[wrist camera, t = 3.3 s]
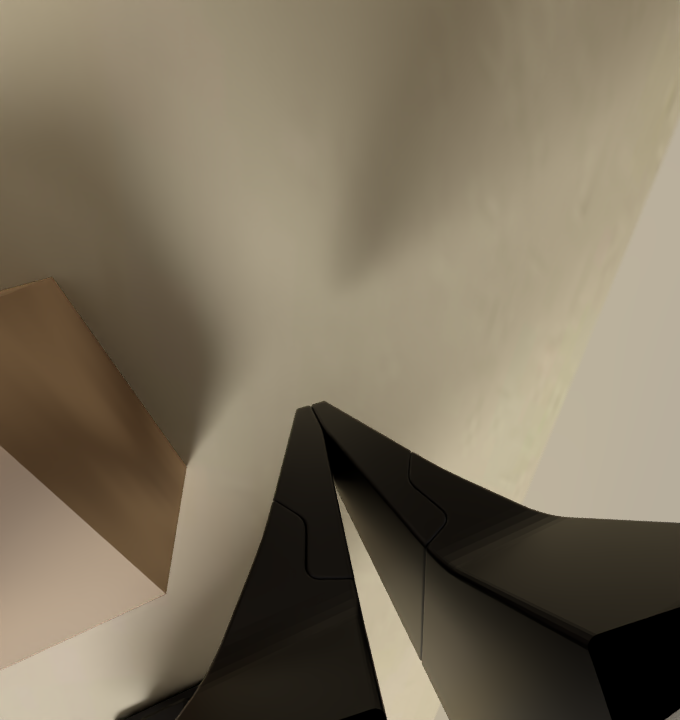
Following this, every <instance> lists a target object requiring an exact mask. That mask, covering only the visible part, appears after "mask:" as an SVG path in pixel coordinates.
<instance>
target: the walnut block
mask: <svg viewBox="0 0 680 720" xmlns="http://www.w3.org/2000/svg"><path fill="white" fill-rule="evenodd" d="M186 468H187V467H186V465H185V464H184V463H183V461H182V460H181V458H180V457H179V456H178V454H177V453H176V451H175V450H174V448H173V447H172V446H171V444H170V443H169V441H168V440H167V439H166V437H165V436H164V434H163V433H162V431H161V430H160V429H159V427H158V426H157V424H156V423H155V422H154V420H153V419H152V417H151V416H150V415H149V413H148V412H147V410H146V409H145V407H144V406H143V405H142V403H141V402H140V400H139V399H138V398H137V396H136V395H135V393H134V392H133V390H132V389H131V388H130V386H129V385H128V383H127V382H126V381H125V379H124V378H123V376H122V375H121V374H120V372H119V371H118V369H117V368H116V366H115V365H114V364H113V362H112V361H111V359H110V358H109V357H108V355H107V354H106V352H105V351H104V350H103V348H102V347H101V345H100V344H99V342H98V341H97V340H96V338H95V337H94V335H93V334H92V333H91V331H90V330H89V328H88V327H87V325H86V324H85V323H84V321H83V320H82V318H81V317H80V316H79V314H78V313H77V311H76V310H75V309H74V307H73V306H72V304H71V303H70V301H69V300H68V299H67V297H66V296H65V294H64V293H63V292H62V290H61V289H60V287H59V286H58V284H57V283H56V282H55V280H54V279H53V277H50V278H46V279H42V280H39V281H35V282H31V283H27V284H24V285H20V286H16V287H13V288H9V289H5V290H1V291H0V670H2V669H5V668H7V667H9V666H11V665H13V664H15V663H18V662H20V661H22V660H24V659H26V658H28V657H31V656H33V655H35V654H37V653H39V652H41V651H44V650H46V649H48V648H50V647H52V646H54V645H57V644H59V643H61V642H63V641H65V640H67V639H70V638H72V637H74V636H76V635H78V634H80V633H83V632H85V631H87V630H89V629H91V628H93V627H96V626H98V625H100V624H102V623H104V622H106V621H109V620H111V619H113V618H115V617H117V616H119V615H122V614H124V613H126V612H128V611H130V610H132V609H135V608H137V607H139V606H141V605H143V604H145V603H148V602H150V601H152V600H154V599H156V598H158V597H161V596H163V595H165V594H166V591H167V584H168V578H169V572H170V566H171V560H172V554H173V548H174V541H175V535H176V529H177V523H178V517H179V511H180V505H181V498H182V492H183V486H184V480H185V474H186Z"/></svg>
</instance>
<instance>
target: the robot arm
mask: <svg viewBox="0 0 680 720" xmlns="http://www.w3.org/2000/svg"><path fill="white" fill-rule="evenodd" d="M334 484H335V485H334ZM335 486H336V488H337V491H338V493H339V495H340V497H341V499H342V501H343V503H344V505H345V507H346V509H347V511H348V513H349V515H350V517H351V519H352V521H353V523H354V525H355V527H356V529H357V532H358V534H359V536H360V538H361V540H362V542H363V544H364V546H365V548H366V550H367V552H368V554H369V556H370V558H371V560H372V562H373V564H374V566H375V568H376V570H377V572H378V575H379V577H380V579H381V581H382V583H383V585H384V587H385V589H386V591H387V593H388V595H389V597H390V599H391V601H392V603H393V605H394V607H395V609H396V611H397V613H398V616H399V618H400V620H401V622H402V624H403V626H404V628H405V630H406V632H407V634H408V636H409V638H410V640H411V642H412V644H413V646H414V648H415V650H416V652H417V654H418V657H419V659H420V660H421V661H422V665H423V667H424V669H425V671H426V673H427V675H428V677H429V679H430V681H431V683H432V685H433V687H434V689H435V692H436V694H437V696H438V698H439V700H440V702H441V704H442V706H443V708H444V710H445V712H446V714H447V716H448V718H449V720H680V523H671V522H652V521H631V520H613V519H593V518H573V517H561V516H555V515H550V514H546V513H542V512H539V511H536V510H533V509H530V508H528V507H525V506H523V505H521V504H518V503H516V502H514V501H512V500H510V499H507V498H505V497H503V496H501V495H499V494H496V493H494V492H492V491H490V490H488V489H485V488H483V487H481V486H479V485H477V484H474V483H472V482H470V481H468V480H466V479H463V478H461V477H459V476H457V475H455V474H453V473H451V472H449V471H447V470H445V469H443V468H441V467H439V466H437V465H435V464H434V463H432V462H430V461H428V460H426V459H424V458H423V457H421V456H419V455H417V454H416V453H414V452H411V451H410V450H409V449H407V448H405V447H403V446H402V445H400V444H398V443H396V442H395V441H393V440H391V439H389V438H388V437H386V436H384V435H383V434H381V433H379V432H377V431H376V430H374V429H372V428H370V427H369V426H367V425H365V424H364V423H362V422H360V421H358V420H357V419H355V418H353V417H351V416H350V415H348V414H346V413H344V412H343V411H341V410H339V409H338V408H336V407H334V406H332V405H331V404H329V403H327V402H325V401H322V402H319V403H316V404H313V405H312V406H305V407H302V408H298V409H297V410H296V413H295V417H294V421H293V425H292V428H291V432H290V436H289V440H288V444H287V448H286V452H285V455H284V459H283V463H282V467H281V471H280V475H279V479H278V482H277V486H276V490H275V494H274V498H273V502H272V505H271V509H270V513H269V516H268V520H267V523H266V527H265V530H264V533H263V537H262V540H261V543H260V545H259V548H258V551H257V553H256V556H255V559H254V562H253V564H252V567H251V569H250V572H249V575H248V577H247V580H246V582H245V585H244V587H243V590H242V592H241V595H240V597H239V600H238V602H237V605H236V607H235V610H234V612H233V615H232V617H231V620H230V622H229V625H228V627H227V630H226V633H225V635H224V637H223V640H222V642H221V645H220V647H219V649H218V652H217V654H216V656H215V658H214V660H213V662H212V664H211V666H210V668H209V670H208V672H207V674H206V675H205V677H204V679H203V681H202V682H201V684H199V685H197V686H195V687H193V688H191V689H189V690H187V691H185V692H182V693H180V694H178V695H176V696H174V697H172V698H170V699H167V700H165V701H163V702H161V703H159V704H157V705H155V706H153V707H150V708H148V709H146V710H144V711H142V712H140V713H138V714H136V715H133V716H131V717H129V718H127V719H125V720H387V717H386V713H385V709H384V705H383V700H382V696H381V692H380V688H379V683H378V679H377V675H376V671H375V667H374V662H373V658H372V654H371V650H370V645H369V641H368V637H367V633H366V629H365V624H364V620H363V616H362V611H361V607H360V602H359V598H358V593H357V588H356V584H355V579H354V574H353V570H352V565H351V560H350V556H349V551H348V546H347V541H346V537H345V532H344V527H343V523H342V518H341V513H340V509H339V504H338V499H337V494H336V490H335Z"/></svg>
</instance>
